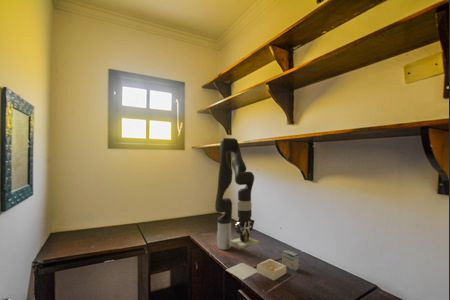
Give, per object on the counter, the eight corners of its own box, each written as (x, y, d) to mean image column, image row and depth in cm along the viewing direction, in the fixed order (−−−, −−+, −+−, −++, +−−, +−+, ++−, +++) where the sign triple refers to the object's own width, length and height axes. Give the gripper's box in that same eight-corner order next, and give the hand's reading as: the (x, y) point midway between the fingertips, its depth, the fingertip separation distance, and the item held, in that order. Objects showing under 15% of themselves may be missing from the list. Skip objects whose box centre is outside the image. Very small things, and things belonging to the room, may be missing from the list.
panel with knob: (225, 270, 127) (225, 269, 127) (242, 263, 135) (242, 262, 135) (242, 280, 117) (242, 279, 117) (259, 272, 126) (259, 270, 126)
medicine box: (281, 266, 131) (281, 251, 131) (286, 264, 134) (286, 249, 135) (294, 271, 126) (294, 255, 126) (298, 269, 129) (298, 253, 129)
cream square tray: (256, 273, 124) (256, 264, 124) (269, 266, 132) (269, 258, 132) (273, 281, 116) (273, 272, 116) (286, 274, 123) (286, 265, 123)
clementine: (267, 272, 124) (267, 266, 124) (271, 270, 126) (271, 264, 126) (272, 274, 122) (272, 268, 122) (275, 272, 124) (275, 266, 124)
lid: (230, 242, 127) (230, 232, 127) (244, 237, 134) (244, 227, 134) (244, 248, 118) (244, 237, 118) (259, 242, 125) (259, 232, 125)
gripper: (248, 205, 134) (248, 235, 133) (230, 209, 125) (230, 241, 124) (258, 207, 128) (258, 239, 128) (240, 211, 119) (240, 245, 119)
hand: (244, 240), depth 126 cm, fingers closed on lid, 3 cm apart
